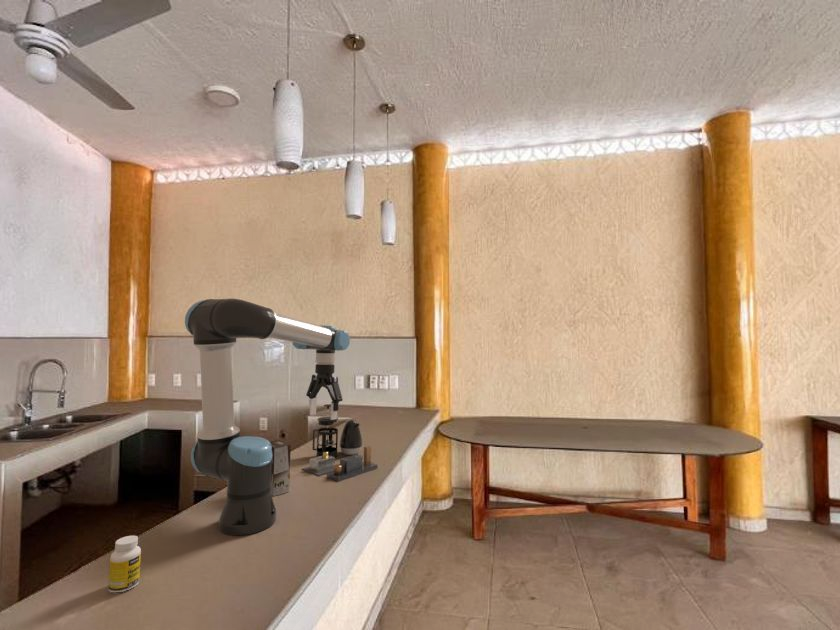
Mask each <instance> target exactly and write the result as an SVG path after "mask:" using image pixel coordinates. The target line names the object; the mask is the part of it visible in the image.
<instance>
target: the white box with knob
mask: <svg viewBox="0 0 840 630" xmlns="http://www.w3.org/2000/svg"><path fill="white" fill-rule="evenodd" d="M334 465H336V459H335V457H332V456H329V455H328V452H323V456H319V457H316V456H315V457H312V458H310V459H309V467H310V469H311V470H313V471H316V472H321V471H324V470H328V469H331V468H334Z"/></svg>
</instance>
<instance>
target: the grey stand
mask: <svg viewBox="0 0 840 630" xmlns="http://www.w3.org/2000/svg"><path fill="white" fill-rule="evenodd" d="M378 468H379V467H378V464H376V463H373V462H372V446H370V445H366V446H364V447H363V456H362V455H359V454H355V455H348V456H345V457H343V458H340V459H339V464H338V463H337V464H336V463H335V465H334V471H332V472H329V473H327V474H326V478H328V479H331V480H333V481H336V482H338V483H339V482H342V481H344V480H348V479H350V478H353V477H357V476H359V475H363V474H365V473H368V472H370V471H373V470H377V469H378Z"/></svg>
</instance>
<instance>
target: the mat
mask: <svg viewBox="0 0 840 630" xmlns="http://www.w3.org/2000/svg"><path fill="white" fill-rule="evenodd" d="M301 470H303V471H305V472H307V473H309V474H312V475H315V476H317V477H320V476H321V477H322V476H324V475H327V473H329V472H332V471H334V468H331V469H328V470H324V471H321V472H316V471H313V470H311V469H310V466H307V467H304V468H301Z"/></svg>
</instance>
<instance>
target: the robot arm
mask: <svg viewBox="0 0 840 630" xmlns="http://www.w3.org/2000/svg"><path fill="white" fill-rule="evenodd" d="M184 325H185V326H184V327H185V328H186V330H187V332H189V334H190V335H191V336H193V337H192V338H193V339H192V340H193V346H195V348H197V349H198V351H199V362H200V364H199V365H200V387H201V389H200V390H201V391H200V392H201V409H202V410H201V411H202V412H201V413H202V430H201V431H200V432H198V434H197V440H196V442H195V444H194V446H193V447H192V449H191V452H190V462H191V465H192V467H193V468H194V470H195V471H197V472H198V473H200V474H201V475H204V476H205V477H207V478H214V479H216V480H221V481H224V482H226V485H227V486H226V499H225V503H224V505H223V508H222V510H221V514H220V516H219V520H218V530H219V531H220V532H221V533H222V534H225V535H229V536H245V535H246V536H247V535H251V534H256V533H259V532H262V531H264V530H266V529H268V528H270V527H272V525H274V523H276V521H277V509H276V506H275V503H274V500H273V496H272V495H271V492H270V491H271V469H272V447H271V444H270V442H271V441H269V440H268V439H266V438H264V437H260V436H252V435H244V436H241V430H240V427H238V426H236V425H235V408H234V404H235V403H234V385H233V383H234V382H233V359H232V358H233V357H232V348H233V347H234V346H235V345H236V344H237V339H245V338H246V339H247V338H248V339H249V338H252V339H260V340H266V339H268V338H271V339H276V340H281V341H286V342H290V343H292V346H293V347H294V348H295V349H297V350H315V363H316V364H315V370H314V373H315V374H312V375H311V381H310V383H309V386H308V389H307V390H306V396H307V397H308V398H309V416H312V415H316V414H317V405H318V404H317V401H318V399H317V395H318V394H319V392H320V390H321V388H322V387H323V388H325V390H327V393H328V395H329V397H330V399H331V400H332V401H331V402H330V404H331V406H330V417H331V419H330V420H334V419H337V418H338V411H339V403H340V402H342V401H343V396H342V395H343V394H342V392H341V388H340V385H339V378H338V376H333V374H335V364H334V363H335V360H336V356H335V355H336V352H339V351H340V352H341V351H345V350H347V349H348V348H349V346H350V341H351V338H350V337H351V336H350V335H349V332H347V331H346V330H343V329H336V327H335V326H334V325H323V324H322V325H321V324H320V325H318V324H314V323H310V322H308V321H304V320H301V319H296V318H293V317H290V316H285V315H282V314H278V313H276V312H275V311H274V310H273V309H272V308H269V307H265V306H263V305H259V304H256V303H254V302H250V301H247V300H243V299H239V298H218V299H217V298H213V299H212V298H208V299H202V300H200V301H196V302H195V303H194V304H192V305H191V306H190V307H189V309H187V311H186V314H185V317H184Z"/></svg>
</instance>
